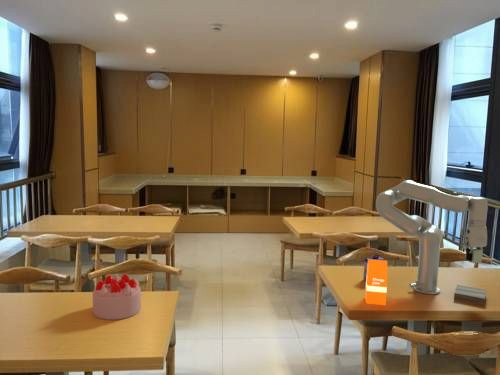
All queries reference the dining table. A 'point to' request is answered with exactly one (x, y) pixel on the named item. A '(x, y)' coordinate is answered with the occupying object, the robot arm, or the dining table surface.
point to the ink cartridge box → (367, 264)
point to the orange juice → (376, 282)
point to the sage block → (476, 255)
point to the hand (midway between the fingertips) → (473, 259)
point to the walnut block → (470, 295)
